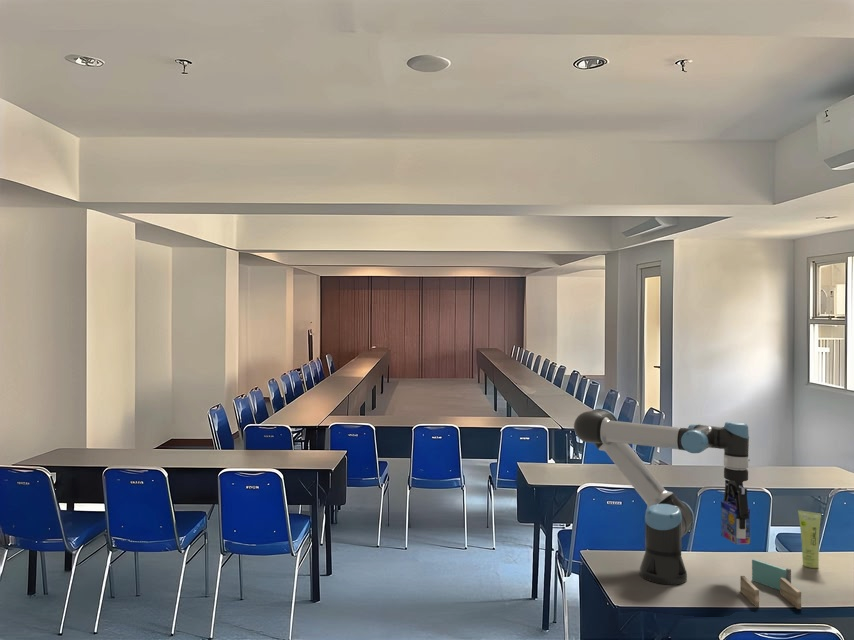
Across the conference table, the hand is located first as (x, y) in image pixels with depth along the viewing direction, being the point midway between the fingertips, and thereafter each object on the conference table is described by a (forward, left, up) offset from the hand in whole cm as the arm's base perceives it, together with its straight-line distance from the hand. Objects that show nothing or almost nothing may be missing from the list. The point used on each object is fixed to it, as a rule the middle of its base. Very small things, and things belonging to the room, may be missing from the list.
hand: (735, 533), depth 224 cm
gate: (+9, -6, -15) cm, 19 cm away
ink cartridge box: (0, 0, -3) cm, 3 cm away
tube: (+32, +17, -16) cm, 39 cm away
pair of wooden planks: (+4, -18, -15) cm, 24 cm away
